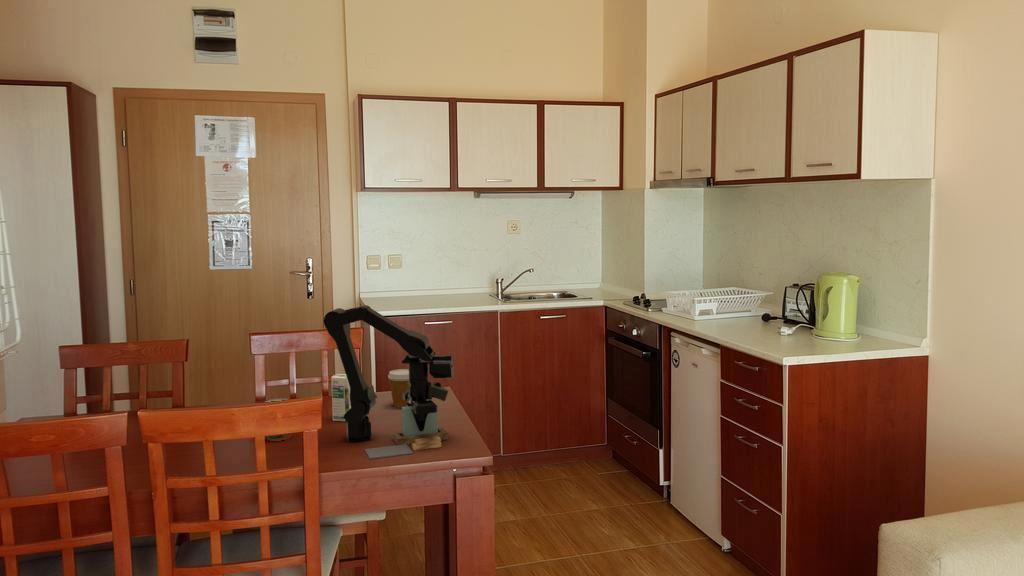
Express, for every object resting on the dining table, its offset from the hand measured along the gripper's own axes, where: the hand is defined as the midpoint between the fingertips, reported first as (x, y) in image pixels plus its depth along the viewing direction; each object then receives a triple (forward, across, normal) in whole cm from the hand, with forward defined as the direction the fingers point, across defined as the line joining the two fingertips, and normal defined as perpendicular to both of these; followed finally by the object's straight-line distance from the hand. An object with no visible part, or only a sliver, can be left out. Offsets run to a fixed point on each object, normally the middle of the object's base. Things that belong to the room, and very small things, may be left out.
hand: (420, 429), depth 228 cm
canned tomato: (+3, +18, +39) cm, 43 cm away
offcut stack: (+3, -8, 0) cm, 8 cm away
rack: (+3, 0, 0) cm, 3 cm away
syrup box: (+3, +30, +18) cm, 35 cm away
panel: (+3, 0, 0) cm, 3 cm away
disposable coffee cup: (+3, +38, -3) cm, 38 cm away
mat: (+3, -8, +11) cm, 14 cm away
